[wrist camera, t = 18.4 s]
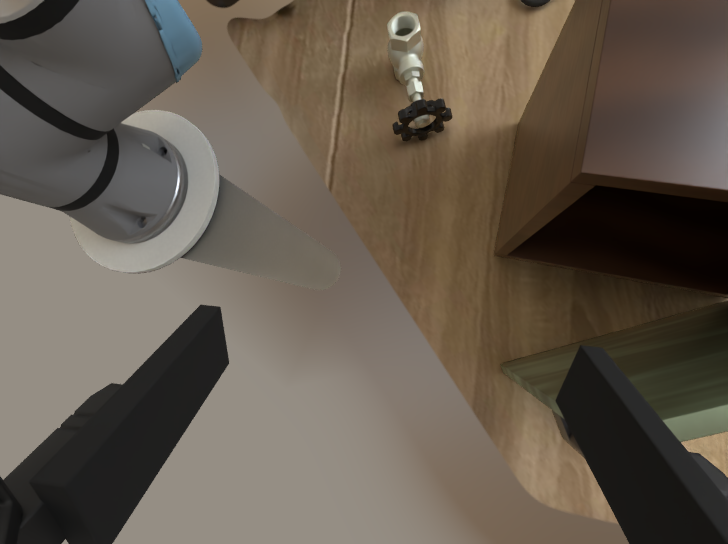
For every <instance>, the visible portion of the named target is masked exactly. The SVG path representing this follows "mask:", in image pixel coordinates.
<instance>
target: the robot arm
mask: <svg viewBox="0 0 728 544" xmlns="http://www.w3.org/2000/svg"><path fill="white" fill-rule="evenodd" d="M201 52H202V42H201V39H200V37H199V35H198V33H197V31H196V29H195V27H194V26H193V24H192V23H191V21H190V19H189V18H188V16H187V15H186V13H185V11H184V10H183V8H182V7H181V5H180V3H179V2H178V0H0V194H2V195H6V196H9V197H13V198H16V199H20V200H24V201H27V202H31V203H35V204H38V205H42V206H46V207H50V208H53V209H56V210H60V211H62V212H64V213H66V214H67V215H69V216H70V217H72V218H73V219H75V220H76V221H78V222H80V223H81V224H83V225H84V226H86V227H87V228H89V229H90V230H92V231H93V232H95V233H96V234H98V235H100V236H101V237H104V238H106V239H109V240H113V241H118V242H122V243H128V244H134V243H141V242H145V241H148V240H150V239H152V238H154V237H156V236H158V235H159V234H161V233H162V232H163V231H165V230H166V229H167V228H168V227H169V226H170V225H171V224H172V223H173V221H174V220H175V219H176V217H177V216H178V214H179V212H180V210H181V208H182V206H183V204H184V201H185V198H186V194H187V189H188V172H187V167H186V164H185V161H184V159H183V157H182V155H181V153H180V152H179V150H178V149H177V148H176V147H175V146H174V145H173V144H171V143H170V142H169V141H167V140H166V139H164V138H163V137H161V136H160V135H158V134H156V133H154V132H152V131H149V130H145V129H141V128H137V127H134V126H130V125H126V124H123V123H121V122H122V121H124V120H125V119H127V118H128V117H129V116H131V115H132V114H133V113H135V112H136V111H137V110H139V109H140V108H141V107H143V106H144V105H145V104H147V103H148V102H149V101H151V100H152V99H153V98H155V97H156V96H158V95H159V94H160V93H162V92H163V91H164V90H166V89H167V88H168V87H170V86H171V85H172V84H174V83H175V82H176V83H177V82H179V80H180V79H181V76H182V75H183V74H184V73H185V72H186V71H187V70H188V69H190V68H191V67H192V66H193V65H194V64H195V63H196V62H197V61H198V60H199V58H200V56H201ZM228 364H229V359H228V352H227V346H226V340H225V334H224V327H223V321H222V314H221V309H220V307H216V306H206V305H200V306H199V307H198V308H197V309H196V310H195V311H194V312H193V313H192V314H191V315H190V316H189V317H188V319H186V320H185V321H184V322H183V324H182V325H180V327H179V328H178V329H177V330H176V331H175V332H174V333H173V334H172V335H171V336H170V337H169V338H168V339H167V340H166V341H165V342H164V343H163V344H162V345H161V346H160V347H159V348H158V349H157V350H156V351H155V352H154V353H153V354H152V355H151V356H150V357H149V358H148V359H147V361H145V363H144V364H143V365H142V366H141V367H140V368H139V369H138V370H137V371H136V372H135V373H134V374H133V375H132V376H131V377H130V378H129V379H128V380H127V381H126V382H125V383H124V384H123V385H121V384H113V383H112V384H110V385H108V386H106V387H105V388H103V389H102V390H100V391H98V392H97V393H95V394H93V395H92V396H90V397H89V399H87V400H86V401H85V402H84V403H83V404H82V405H81V406H80V407H79V408H78V409H77V410H76V411H75V413H74V415H71V416H70V417H69V418H68V419H66V420H65V422H63V423H62V424H61V427H60V428H57V429H56V430H55V431H54V432H53V433H52V434H51V435H50V436H49V437H48V438H47V439H46V440H45V441H44V442H43V443H42V444H40V445H39V446H38V447H37V448H36V449H35V450H34V451H33V452H32V453H31V454H30V455H29V456H28V457H27V458H26V459H25V460H24V461H23V462H22V463H21V464H20V465H19V466H17V467H16V469H14V470H13V471H12V472H11V473H10V474H9V475H8V476H7V477H6V478H5V479H4V480H3V479H2V478H1V477H0V544H61V543H62V542H63V541H64V540H65V539H66V540H67V542H68V543H69V544H112V543H113V542H114V540H115V539H116V537H117V535H118V534H119V532H120V531H121V529H122V528H123V526H124V525H125V523H126V521H127V520H128V519H129V517H130V515H131V514H132V512H133V511H134V509H135V508H136V506H137V505H138V503H139V501H140V500H141V498H142V497H143V495H144V494H145V492H146V491H147V489H148V488H149V486H150V485H151V483H152V481H153V480H154V478H155V477H156V475H157V474H158V472H159V471H160V469H161V468H162V466H163V464H164V463H165V461H166V460H167V458H168V457H169V455H170V453H171V452H172V451H173V449H174V447H175V446H176V444H177V443H178V441H179V440H180V438H181V437H182V435H183V433H184V432H185V431H186V429H187V427H188V426H189V424H190V423H191V421H192V419H193V418H194V417H195V415H196V414H197V412H198V410H199V409H200V407H201V406H202V404H203V403H204V401H205V400H206V398H207V397H208V395H209V393H210V392H211V390H212V389H213V387H214V386H215V384H216V383H217V381H218V380H219V378H220V376H221V375H222V373H223V372H224V370H225V368H226V367H227V366H228ZM555 402H556V403H557V405H558V407H559V409H560V411H561V413H562V415H563V417H564V419H565V421H566V423H567V425H568V426H569V428H570V430H571V432H572V434H573V436H574V438H575V440H576V442H577V444H578V446H579V448H580V450H581V451H582V453H583V455H584V457H585V459H586V461H587V463H588V465H589V467H590V469H591V471H592V473H593V475H594V476H595V478H596V480H597V482H598V484H599V486H600V488H601V490H602V492H603V494H604V496H605V498H606V500H607V501H608V503H609V505H610V507H611V509H612V511H613V513H614V515H615V517H616V519H617V521H618V523H619V524H620V526H621V528H622V530H623V532H624V534H625V536H626V538H627V540H628V542H629V544H728V478H727V477H726V476H725V474H724V473H723V472H721V471H720V470H719V469H718V468H716V467H715V466H714V465H713V464H712V463H710V462H709V461H708V460H707V459H705V458H704V457H703V456H702V455H700V454H699V453H691V452H688V451H687V450H686V448H685V447H684V446H683V445H682V444H681V442H680V441H679V440H678V439H677V437H676V436H675V435H674V434H673V433H672V431H671V430H670V429H669V428H668V427H667V425H666V424H665V423H664V422H663V420H662V419H661V418H660V417H659V416H658V414H657V413H656V412H655V411H654V410H653V408H652V407H651V406H650V405H649V404H648V402H647V401H646V400H645V399H644V397H643V396H642V395H641V394H640V393H639V391H638V390H637V389H636V388H635V387H634V385H633V384H632V383H631V382H630V380H629V379H628V378H627V377H626V376H625V374H624V373H623V372H622V371H621V370H620V368H619V367H618V366H617V365H616V363H615V362H614V361H613V360H612V359H611V357H610V356H609V355H608V354H607V353H606V351H605V350H604V349H603V348H601V347H592V346H582V345H580V347H579V349H578V351H577V353H576V356H575V358H574V360H573V362H572V364H571V367H570V369H569V371H568V373H567V376H566V378H565V380H564V382H563V384H562V387H561V389H560V391H559V393H558V395H557V398H556V400H555Z"/></svg>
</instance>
